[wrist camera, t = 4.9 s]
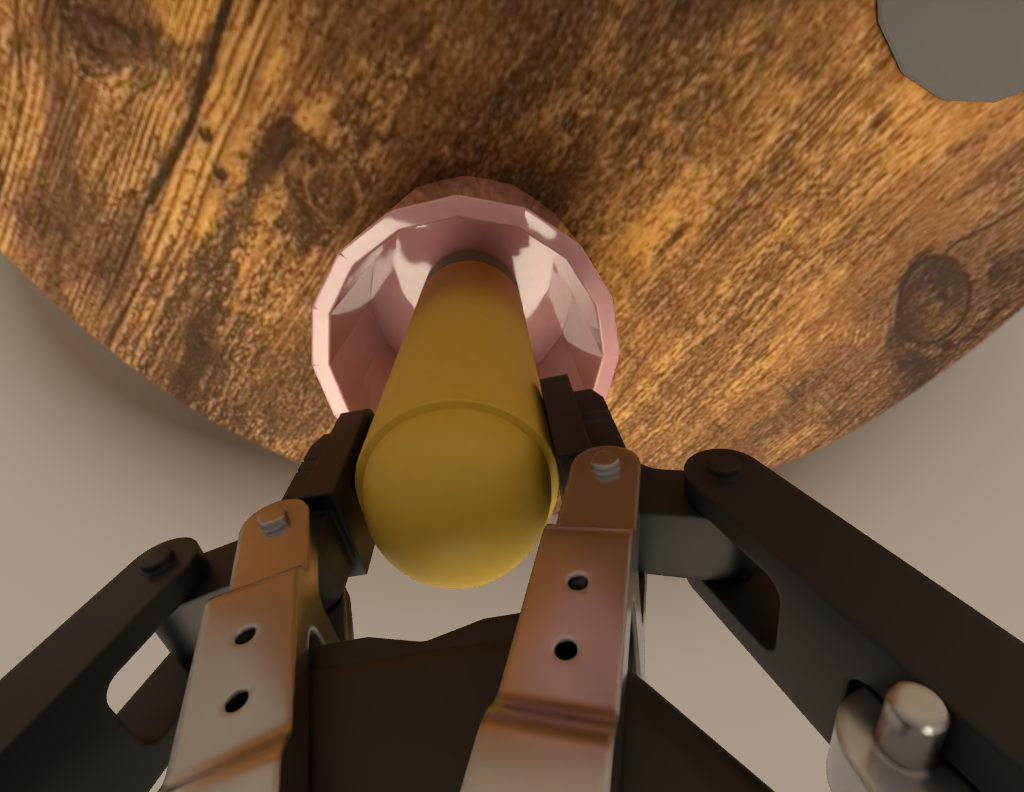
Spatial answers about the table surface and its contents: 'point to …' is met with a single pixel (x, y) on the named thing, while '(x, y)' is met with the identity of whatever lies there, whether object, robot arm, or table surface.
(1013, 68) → the cup
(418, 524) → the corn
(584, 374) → the pot
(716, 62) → the table surface
